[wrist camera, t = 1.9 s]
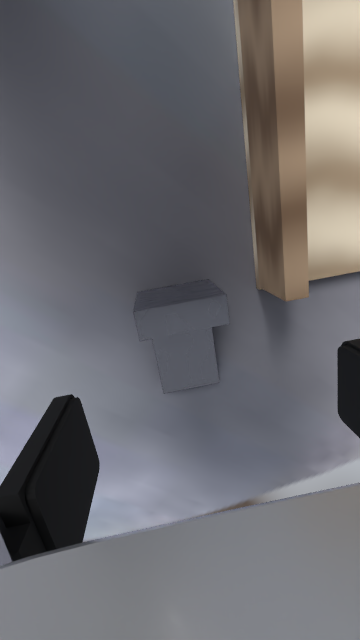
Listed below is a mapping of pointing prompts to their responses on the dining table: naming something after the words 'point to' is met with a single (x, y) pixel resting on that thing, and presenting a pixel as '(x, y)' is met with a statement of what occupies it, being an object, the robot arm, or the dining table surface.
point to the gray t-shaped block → (182, 331)
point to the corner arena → (301, 138)
